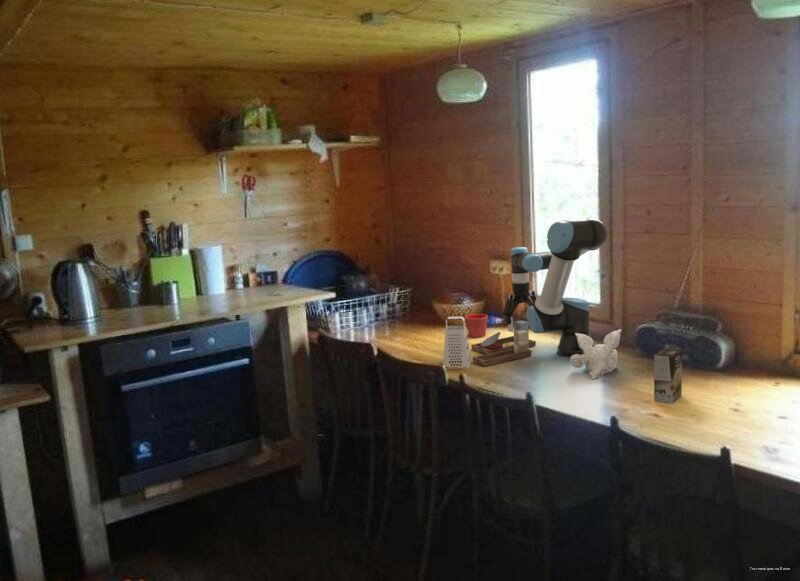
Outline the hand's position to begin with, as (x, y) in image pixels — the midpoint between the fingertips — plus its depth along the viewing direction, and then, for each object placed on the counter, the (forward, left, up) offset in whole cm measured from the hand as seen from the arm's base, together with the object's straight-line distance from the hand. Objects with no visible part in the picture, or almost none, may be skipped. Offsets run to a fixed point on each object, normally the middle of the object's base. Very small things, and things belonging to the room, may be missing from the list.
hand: (522, 329), depth 325 cm
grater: (-7, +41, -7) cm, 42 cm away
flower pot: (+27, +6, -7) cm, 29 cm away
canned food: (+1, +17, -7) cm, 19 cm away
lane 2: (-13, +22, -7) cm, 27 cm away
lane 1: (+1, +11, -7) cm, 13 cm away
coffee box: (-89, +11, -7) cm, 90 cm away
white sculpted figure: (-52, +7, -7) cm, 53 cm away
